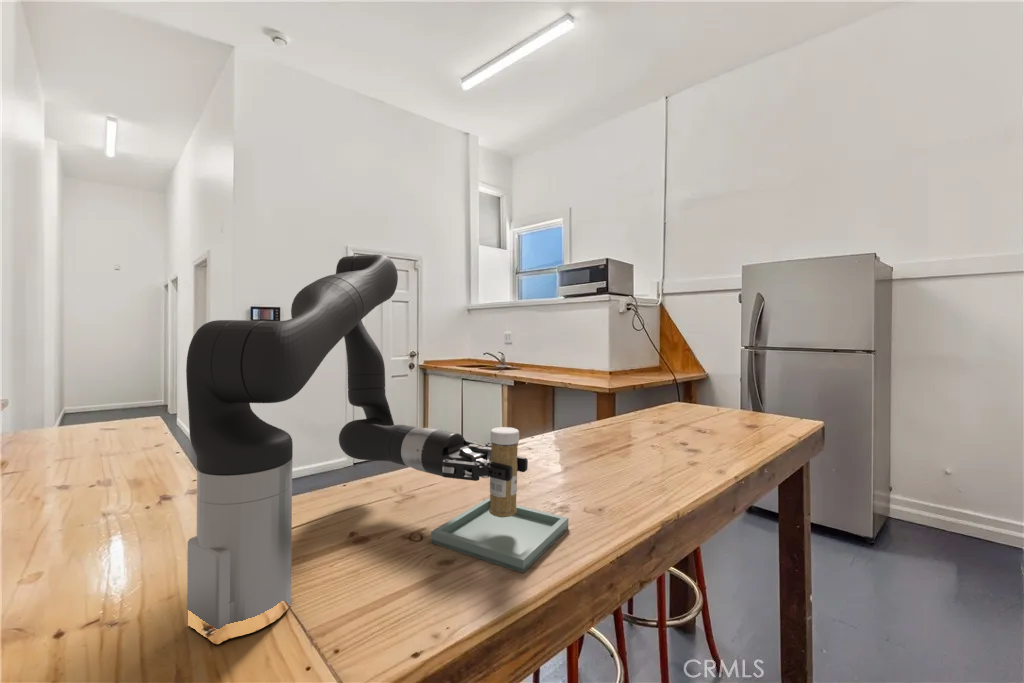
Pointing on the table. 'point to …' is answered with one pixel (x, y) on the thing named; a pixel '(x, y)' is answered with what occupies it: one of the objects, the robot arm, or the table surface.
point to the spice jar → (504, 453)
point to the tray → (501, 535)
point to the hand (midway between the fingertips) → (518, 469)
